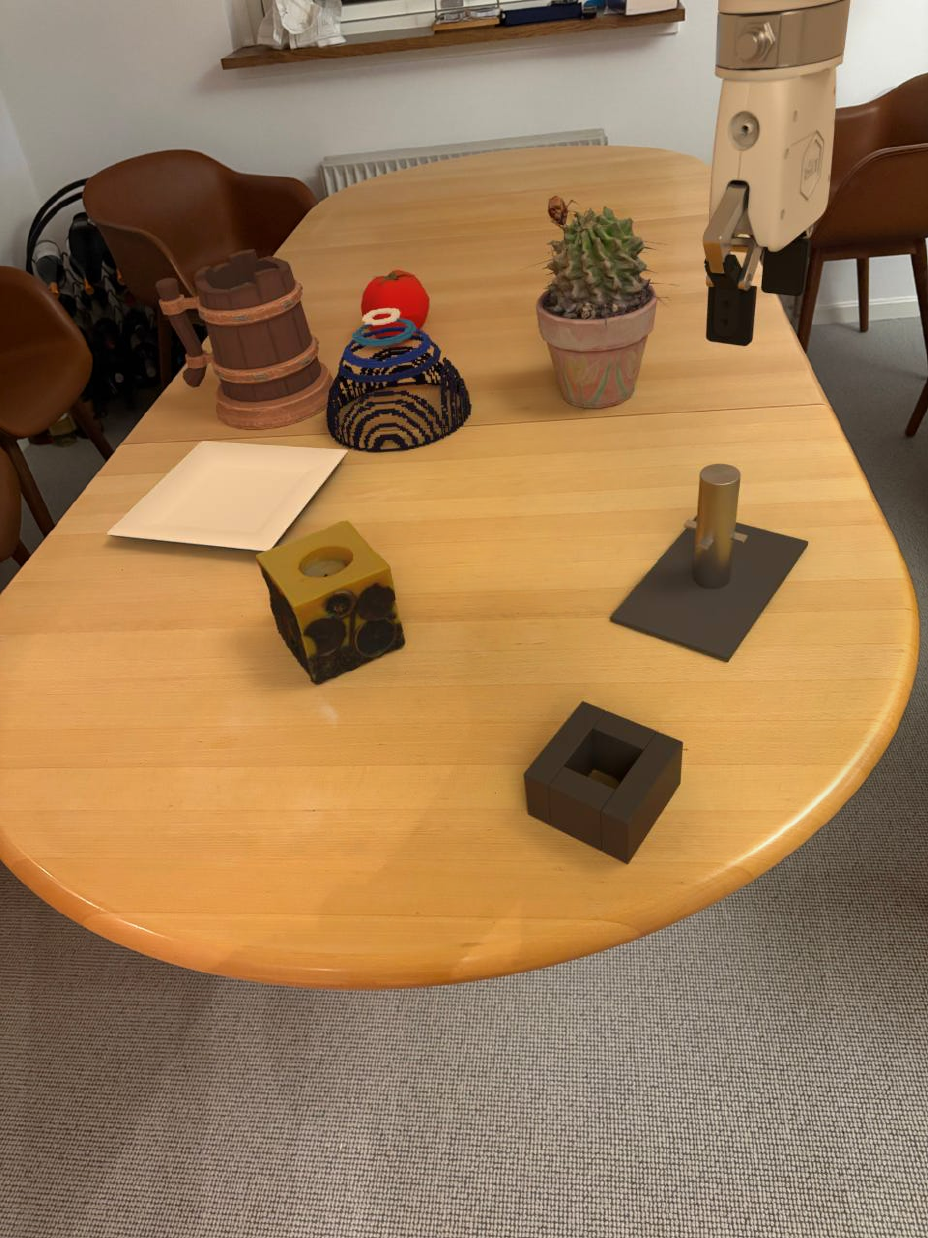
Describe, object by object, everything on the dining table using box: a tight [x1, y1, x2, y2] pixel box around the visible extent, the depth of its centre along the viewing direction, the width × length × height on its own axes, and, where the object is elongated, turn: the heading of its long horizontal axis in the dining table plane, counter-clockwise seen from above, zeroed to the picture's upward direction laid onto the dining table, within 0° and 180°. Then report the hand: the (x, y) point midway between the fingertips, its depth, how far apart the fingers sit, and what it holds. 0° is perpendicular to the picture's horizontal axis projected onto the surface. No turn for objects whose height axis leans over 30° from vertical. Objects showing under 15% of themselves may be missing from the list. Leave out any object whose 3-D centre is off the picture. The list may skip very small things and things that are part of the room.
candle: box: [255, 520, 406, 686], centre depth 85 cm, size 10×10×10 cm
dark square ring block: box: [523, 700, 684, 865], centre depth 68 cm, size 9×9×5 cm
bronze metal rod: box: [683, 463, 748, 588], centre depth 84 cm, size 6×6×12 cm
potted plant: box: [517, 195, 680, 410], centre depth 114 cm, size 18×20×25 cm
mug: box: [155, 248, 335, 430], centre depth 126 cm, size 18×23×20 cm
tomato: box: [360, 269, 430, 338], centre depth 142 cm, size 11×13×10 cm
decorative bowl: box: [325, 308, 472, 454], centre depth 119 cm, size 20×20×14 cm
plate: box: [106, 440, 349, 553], centre depth 110 cm, size 22×22×2 cm
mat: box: [609, 515, 809, 663], centre depth 88 cm, size 12×20×1 cm, turn 144°
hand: (756, 316), depth 64 cm, fingers open, 9 cm apart
